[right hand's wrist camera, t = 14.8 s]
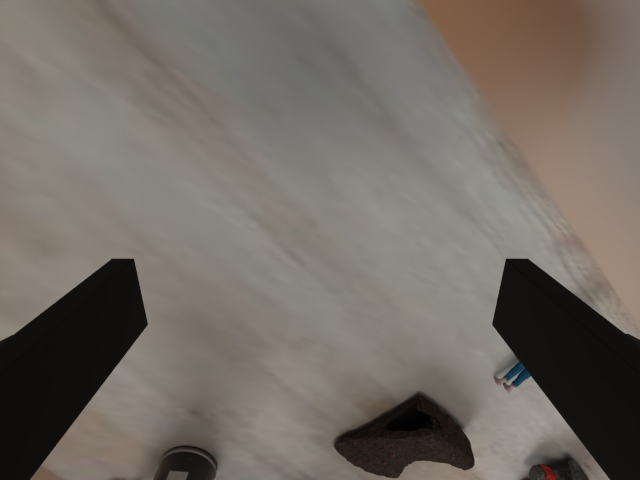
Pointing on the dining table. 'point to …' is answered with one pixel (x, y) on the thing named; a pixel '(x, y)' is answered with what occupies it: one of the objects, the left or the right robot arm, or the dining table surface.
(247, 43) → the dining table surface
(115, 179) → the dining table surface
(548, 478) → the valve
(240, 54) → the dining table surface
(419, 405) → the axe head
